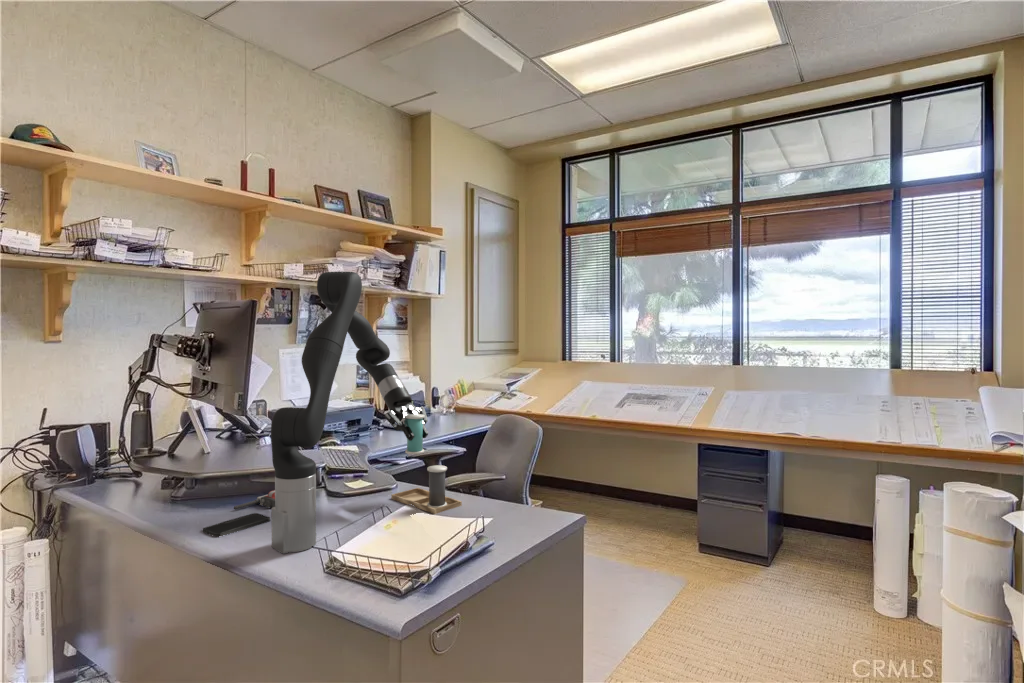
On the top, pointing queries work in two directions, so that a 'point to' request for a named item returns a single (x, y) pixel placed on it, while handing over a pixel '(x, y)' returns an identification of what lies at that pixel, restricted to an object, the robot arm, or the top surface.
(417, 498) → the tray
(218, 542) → the top surface
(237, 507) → the red grey long piece
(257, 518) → the phone
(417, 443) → the teal spool
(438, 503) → the black spool
